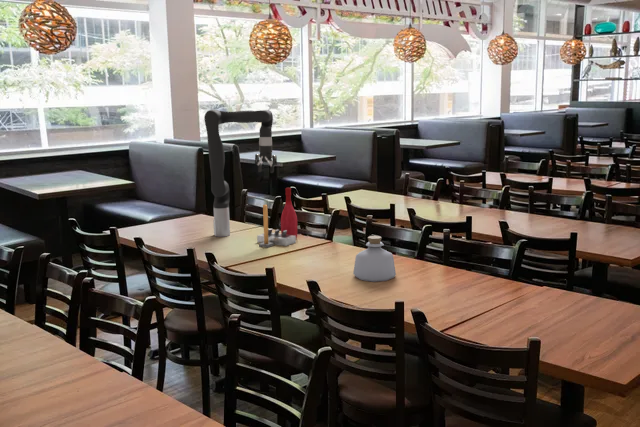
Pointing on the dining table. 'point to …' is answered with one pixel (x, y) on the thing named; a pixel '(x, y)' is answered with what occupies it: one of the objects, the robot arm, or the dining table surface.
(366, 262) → the bottle
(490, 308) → the dining table surface
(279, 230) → the middle paddle
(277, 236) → the breaker panel
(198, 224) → the dining table surface
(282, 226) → the wine bottle
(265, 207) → the orange post
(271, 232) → the paddle
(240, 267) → the dining table surface
